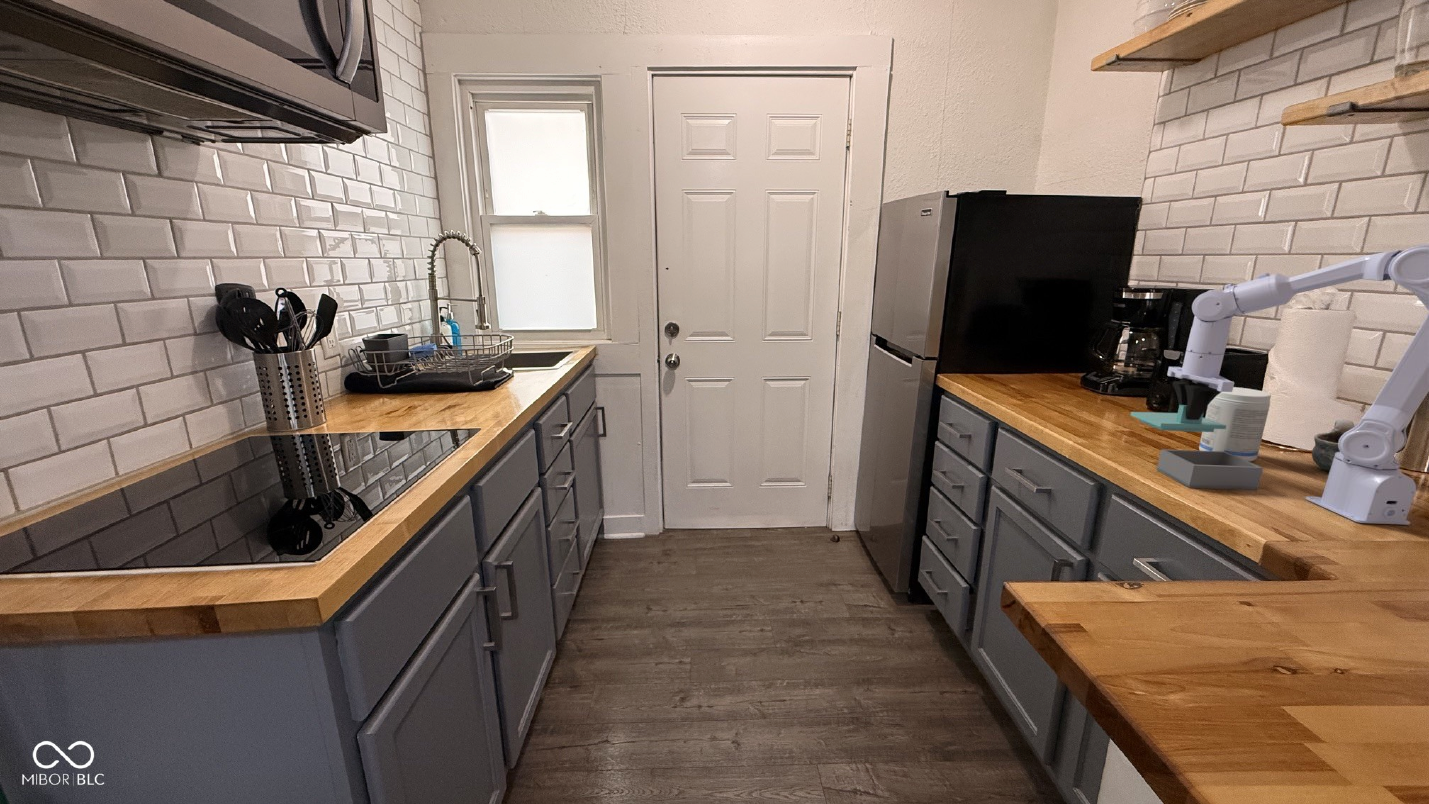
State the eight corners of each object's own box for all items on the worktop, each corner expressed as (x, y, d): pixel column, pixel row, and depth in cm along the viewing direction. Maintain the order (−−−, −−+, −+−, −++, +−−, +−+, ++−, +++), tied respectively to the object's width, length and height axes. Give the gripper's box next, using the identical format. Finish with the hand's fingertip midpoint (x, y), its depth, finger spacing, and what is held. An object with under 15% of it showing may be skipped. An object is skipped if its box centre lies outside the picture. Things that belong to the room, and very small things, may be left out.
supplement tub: (1261, 458, 121) (1279, 392, 117) (1248, 467, 115) (1266, 398, 112) (1205, 445, 128) (1220, 384, 125) (1190, 453, 123) (1205, 389, 120)
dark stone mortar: (1318, 476, 111) (1331, 427, 108) (1291, 458, 121) (1302, 413, 119) (1387, 485, 106) (1403, 434, 104) (1353, 465, 117) (1366, 419, 115)
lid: (1224, 433, 112) (1230, 408, 110) (1159, 431, 113) (1164, 406, 111) (1189, 421, 121) (1194, 397, 120) (1129, 419, 122) (1134, 396, 121)
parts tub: (1257, 490, 104) (1263, 467, 103) (1188, 487, 105) (1194, 465, 104) (1219, 472, 113) (1224, 451, 111) (1156, 470, 114) (1161, 449, 112)
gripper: (1158, 345, 117) (1144, 407, 120) (1211, 358, 103) (1195, 428, 106) (1193, 346, 116) (1179, 408, 120) (1252, 359, 102) (1234, 429, 106)
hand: (1189, 418), depth 113 cm, fingers closed on lid
